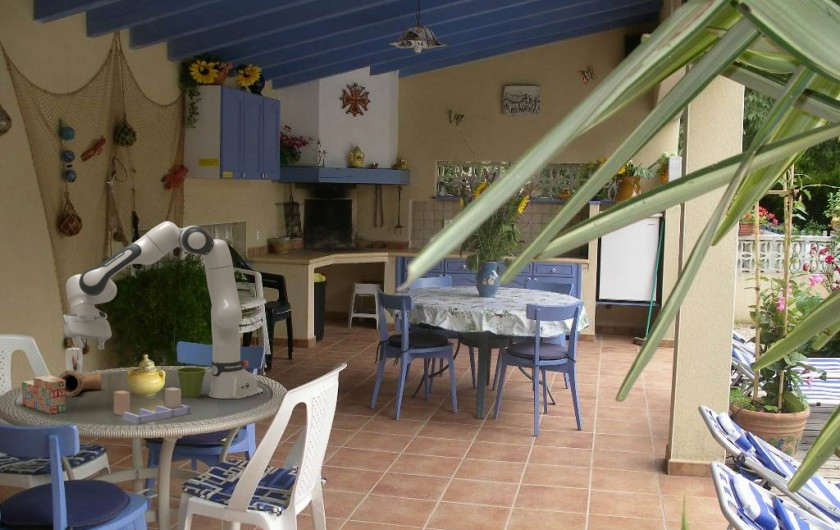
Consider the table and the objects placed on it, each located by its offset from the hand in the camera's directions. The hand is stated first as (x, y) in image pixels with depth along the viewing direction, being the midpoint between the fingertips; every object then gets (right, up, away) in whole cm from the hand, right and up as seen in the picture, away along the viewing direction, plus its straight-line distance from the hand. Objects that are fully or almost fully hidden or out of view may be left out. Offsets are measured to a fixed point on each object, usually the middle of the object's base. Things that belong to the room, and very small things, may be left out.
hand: (91, 348), depth 336 cm
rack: (+28, -25, -11) cm, 39 cm away
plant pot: (+31, -22, +24) cm, 45 cm away
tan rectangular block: (+14, -24, -8) cm, 29 cm away
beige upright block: (+32, -23, -6) cm, 40 cm away
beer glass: (-25, -20, +47) cm, 56 cm away
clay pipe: (-15, -21, +29) cm, 39 cm away
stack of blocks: (-19, -23, +2) cm, 30 cm away
